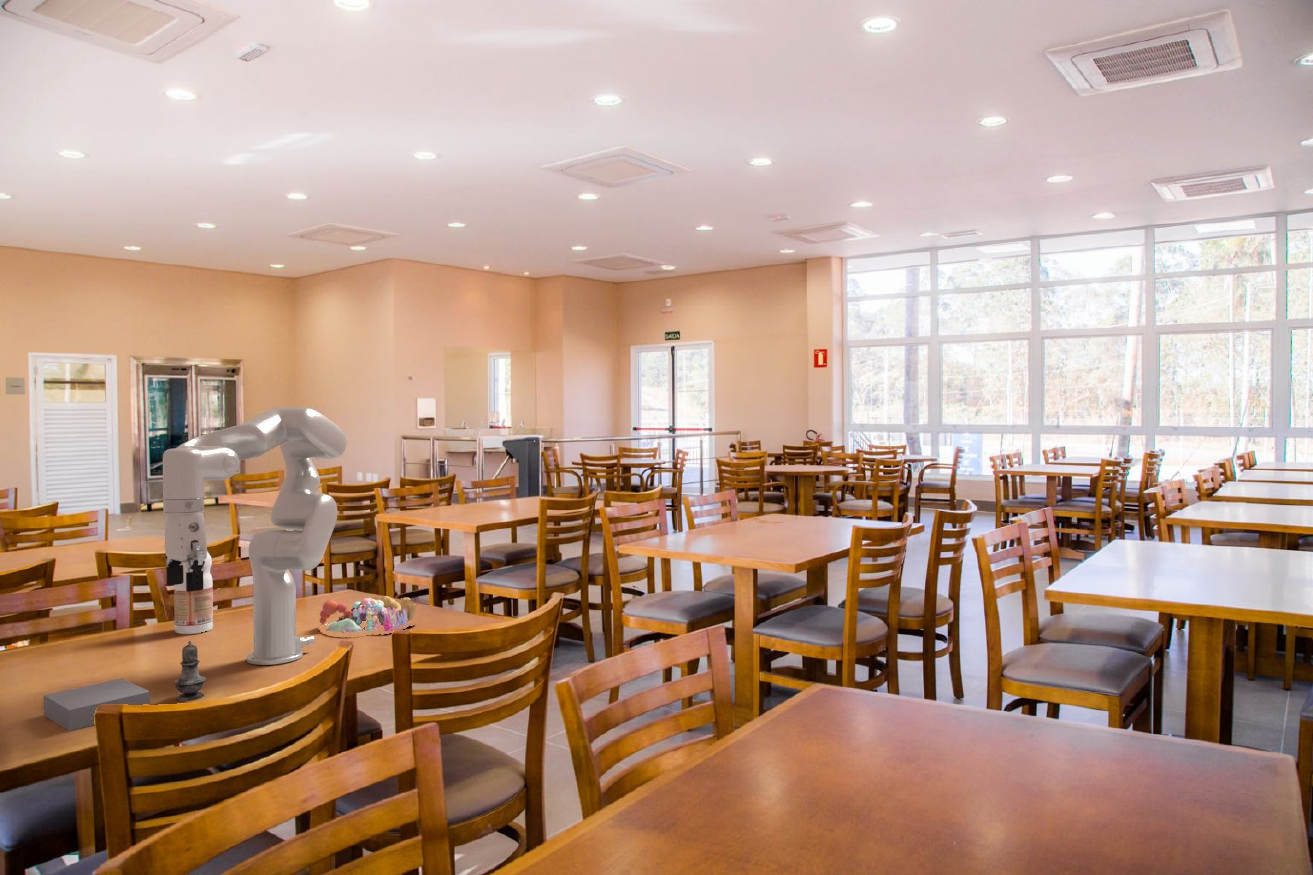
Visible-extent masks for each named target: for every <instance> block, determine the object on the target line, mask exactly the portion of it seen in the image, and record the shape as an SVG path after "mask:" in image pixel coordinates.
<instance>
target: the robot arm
mask: <svg viewBox="0 0 1313 875" xmlns="http://www.w3.org/2000/svg"><path fill="white" fill-rule="evenodd" d="M278 446H279V448H280V451H281V454H282V457H283V460H284V464H285V468H286V469H285V472H286V473H285V478H284V480H283V482H282V485H281V488H280V490H279V492H278V495H277V497H276V499H275V501H274V503H273V506H272V508H271V513H270V521H271V523H272V524H273V526H275V527H276V528H278V529H269V530H267V529H266V530H263V531H260V532H258V533H256V534H255V535H254V536H253V537H252V538H251V539H250V541H249V544H248V550H247V551H248V559H249V563H250V566H251V573H252V583H253V584H252V585H253V586H252V587H253V597H252V599H253V600H252V601H253V604H252V605H253V651H252V652H250V653H248V654H247V655H246V662H247V663H248V664H252V665H260V666H269V665H272V666H273V665H281V664H285V663H290V662H294V661H296V660H298V659H301V658H302V656H303V655H304V653H303V649H302V648H303V647H304V646H309V645H314V644H315V642H316V640H315V637H314V636H307V637H304V636H300V637H299V636H297V622H296V621H297V616H296V615H297V613H296V610H297V608H296V607H297V606H296V605H297V601H296V600H297V598H296V596H297V586H296V582H295V579H294V577H293V575H292V573H291V572H290V571H310V570H313V569H315V568H317V567H318V566H319V564H320V563H321V562H322V559H323V557H324V555H325V552H326V551H327V550H326V549H327V547H328V544H329V541H330V539H331V537H332V534H333V531H334V529H335V526H336V522H337V520H338V506H337V502H336V500H335V499H334V498H333V497H332V496H331V495H329V494H327V493H323V492H321V493H320V492H318V491H319V487H320V485H321V477H320V475H319V472H318V469H317V468H316V466H315V465H314V462H313V461H312V459H314V460H315V459H316V460H319V459H320V460H321V459H323V460H331V459H332V460H333V459H337V458H340V457H341V456H342V455H343V454H344V452H345V450H346V449H347V438H346V435H345V433H344V431H343V430H342V428H340V426H338V425H337V424H336V423H335V422H333V421H332V420H331V419H329V418H328V417H326V416H325V415H324V414H322V413H321V412H319V411H317V410H315V409H313V408H311V407H307V406H306V407H305V406H303V407H302V406H301V407H298V406H297V407H295V406H294V407H293V406H292V407H291V406H290V407H287V406H286V407H285V406H281V407H274V408H271V409H268V410H267V411H264V412H262V413H261V414H258V415H257V416H255V417H253V418H251V419H248V420H247V421H245V422H243V423H241V424H238V425H234V426H230V427H226V428H224V429H223V428H222V429H219V430H215V431H213V432H208V433H205V434H202V435H199V436H196V437H194V438H191V439H189V440H186V441H185V442H184V443H181V444H179V445H178V446H176V448H169V449H166V450H165V451H164V452H163V454H162V491H163V492H162V494H163V495H162V498H163V499H162V500H163V501H162V502H163V507H162V508H163V510H162V512H163V516H166V517H165V526H164V527H165V528H164V529H165V532H164V550H165V554H164V557H165V560H166V561H165V566H166V569H165V571H166V573H165V574H166V586H168V587H169V586H170V587H171V586H174V585H178V584H183V582H184V580H183V565H181V563H182V562H185V564H186V567H187V570H188V572H186V591H188V592H191V591H198V590H202V589H203V571H204V563H205V561H204V560H205V559H206V558H207V551H208V544H207V543H208V542H207V530H206V522H205V516H204V513H205V481H225V480H228V479H230V478H232V477H233V476H234V475H235V474H236V473H237V472H238V470H239V468H240V461H244V460H245V461H246V460H250V459H256V458H258V457H261V456H263V455H265V454H266V453H267V452H270V451H271V450H273V449H274V448H276V447H278ZM280 529H282V530H280ZM191 562H193V564H192V565H191Z"/></svg>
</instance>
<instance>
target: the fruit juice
mask: <svg viewBox="0 0 1313 875" xmlns="http://www.w3.org/2000/svg"><path fill="white" fill-rule="evenodd" d="M204 561H205V563H204V571H203V589H202V590H198V591H191V592H188V591H186V572H188V570H187V567H186V564H185V562H182V563H181V565H183V580H184V582H183V584H178V585H173V589H174V590H173V594H174V595H173V598H174V599H173V602H174V603H173V607H174V609H173V610H174V612H173V613H174V620H173V621H174V633H175V634H177V633H178V635H194V634H195V635H196V634H201V632H203V633H206V632H205V631H207V632H210V631H211V630H213V626H214V614H213V612H214V607H213V606H214V604H213V603H214V599H213V597H214V596H213V595H214V594H213V592H214V587H213V586H214V584H213V582H214V581H213V576H212V574H211V568H212V564H213V560H212V556H211V555H210V552H209V551H208V550H207V558H206V559H205V560H204ZM192 564H193V562H191V565H192Z"/></svg>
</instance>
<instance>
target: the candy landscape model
mask: <svg viewBox="0 0 1313 875" xmlns="http://www.w3.org/2000/svg"><path fill="white" fill-rule="evenodd" d="M410 602H411V598H410V597H405V596H404V597H403V598H402V597H401V598H400V603H399V602H397V601H396V600H395V599H394V598H392V597H390V596H389V595H385V596H384V595H383V596H381V598H380V599H378V600H376V599H374V598H372V597H365V598H363V599H362V601H355V602H353V604H352V606H351V607H352V608H351V609H350V610H349V609H348V606H347V604H345V603H343V602H340V603H339V604H338V602H337V601H336V600H333V599H328V600H327V601H325V602H324V603H323V605H322V610H321V611H320V612H319V615H320V616H319V617H320V618H319V623H320V626H321V625H324V624H325V625H327V624H328V623H327V620H328V619H329V618H330V617H331V616H332V615H334V614H336V613H337V612H338V613H341V614H343V615H341V616H338V620H336V621H332V622H329V623H330V624H328V626H329V625H330V626H329V627H328V626H327V627H328V629H327V628H326V631H334V632H342V633H345V631H346V632H349V634H350V632H353V633H354V632H360V631H363V629H364V630H365V627H364V628H363V629H362V627H361V626H358V625H360V624H361V623H362V621H366V620H367V624H368V625H367V627H366V628H367V630H366V631H373V630H375V629H376V630H377V628H380V627H379V625H378V623H377V620H378V619H379V622H380V623H381V625H383V626H384V629H385V630H383V631H389V630H390V631H392V630H395V629H401V628H400V626H401V625H406V622H408V621H409V620H412V621H413V618H414V617H415V614H416V612H417V611H416V610H417V609H416V608H417V604H416V603H413V604H410ZM374 621H375V623H374ZM376 623H377V624H376ZM372 624H374V625H373V626H372ZM372 627H373V628H374V629H373V628H372ZM397 627H399V628H397ZM392 628H393V629H392ZM372 629H373V630H372Z"/></svg>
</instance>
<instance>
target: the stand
mask: <svg viewBox="0 0 1313 875" xmlns="http://www.w3.org/2000/svg"><path fill="white" fill-rule="evenodd" d="M101 704H128V705H143V704H150V705H151V691H149V690H148V689H145V688H144V687H141V686H139V685H137V684H134V683H133V682H130V681H128V680H126V679H124V678H117V679H112V680H108V681H104V682H99V683H94V684H89V685H85V686H81V687H76V688H75V687H74V688H71V689H67V690H61V691H58V692H57V691H56V692H51V693H48V694H43V716H44V717H45V718H47V719H48V720H51V721H53V722H54V723H55V724H57V725H58V726H61V728H64V729H65V730H67V731H68V732H72V731H75V730H80V729H83V728H88V727H92V726H95V725H94V713H95V710H96V708H97V707H98V706H99V705H101Z"/></svg>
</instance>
